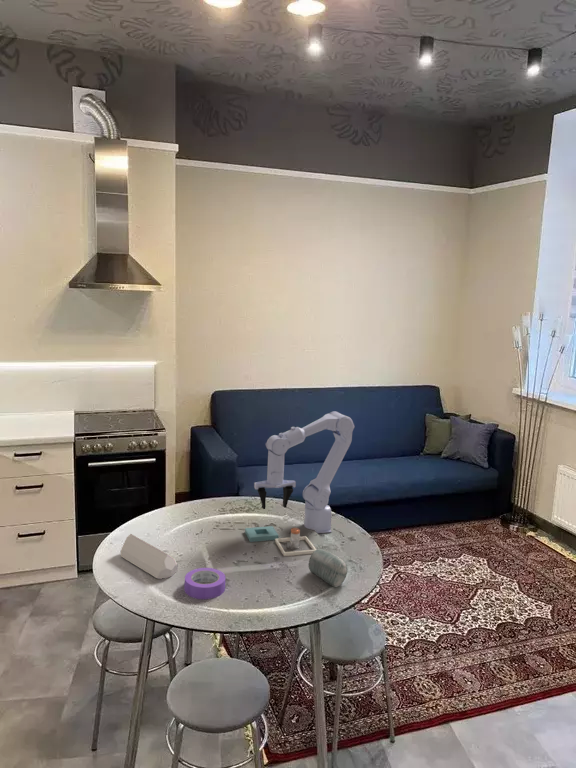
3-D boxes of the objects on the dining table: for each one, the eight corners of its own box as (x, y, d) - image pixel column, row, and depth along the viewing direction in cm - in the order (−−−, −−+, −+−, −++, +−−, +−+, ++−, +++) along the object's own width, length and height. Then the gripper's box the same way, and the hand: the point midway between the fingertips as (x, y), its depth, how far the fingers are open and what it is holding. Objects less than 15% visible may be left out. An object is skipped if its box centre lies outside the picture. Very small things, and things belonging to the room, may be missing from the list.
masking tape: (230, 582, 173) (230, 570, 173) (217, 602, 162) (217, 589, 162) (193, 576, 176) (193, 565, 175) (177, 596, 165) (178, 583, 164)
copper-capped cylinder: (296, 546, 198) (297, 527, 196) (300, 550, 195) (301, 530, 194) (288, 548, 196) (289, 528, 195) (292, 552, 194) (293, 532, 192)
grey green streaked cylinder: (297, 562, 180) (315, 536, 179) (317, 569, 186) (335, 544, 185) (319, 593, 169) (338, 565, 168) (340, 598, 175) (359, 572, 174)
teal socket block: (272, 534, 208) (272, 526, 208) (278, 543, 201) (278, 535, 200) (244, 536, 206) (245, 528, 205) (249, 545, 198) (250, 537, 198)
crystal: (111, 546, 185) (156, 572, 169) (128, 530, 189) (173, 554, 173) (122, 561, 189) (166, 589, 173) (138, 545, 193) (183, 570, 177)
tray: (306, 542, 202) (306, 536, 202) (316, 557, 192) (317, 550, 191) (274, 545, 199) (275, 538, 199) (283, 560, 189) (284, 553, 188)
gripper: (258, 474, 198) (256, 512, 200) (298, 472, 202) (297, 510, 204) (253, 468, 204) (252, 505, 207) (293, 466, 209) (291, 502, 211)
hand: (274, 507), depth 206 cm, fingers open, 7 cm apart
